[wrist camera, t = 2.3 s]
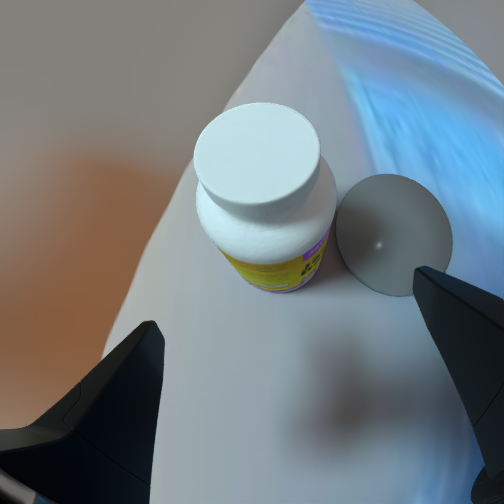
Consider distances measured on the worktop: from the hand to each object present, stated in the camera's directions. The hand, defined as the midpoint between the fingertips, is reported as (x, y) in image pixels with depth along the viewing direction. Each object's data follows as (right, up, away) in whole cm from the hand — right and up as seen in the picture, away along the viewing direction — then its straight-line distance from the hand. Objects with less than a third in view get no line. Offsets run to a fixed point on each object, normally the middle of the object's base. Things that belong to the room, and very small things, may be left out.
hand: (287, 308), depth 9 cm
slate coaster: (+10, +3, +12) cm, 16 cm away
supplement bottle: (+1, +2, +13) cm, 13 cm away
